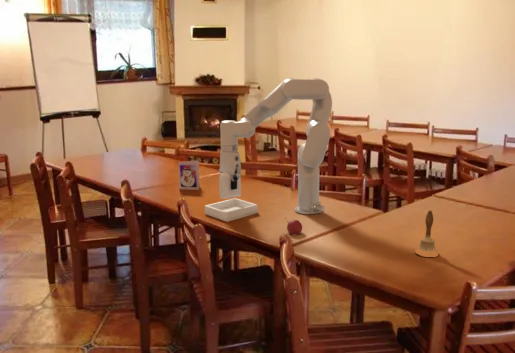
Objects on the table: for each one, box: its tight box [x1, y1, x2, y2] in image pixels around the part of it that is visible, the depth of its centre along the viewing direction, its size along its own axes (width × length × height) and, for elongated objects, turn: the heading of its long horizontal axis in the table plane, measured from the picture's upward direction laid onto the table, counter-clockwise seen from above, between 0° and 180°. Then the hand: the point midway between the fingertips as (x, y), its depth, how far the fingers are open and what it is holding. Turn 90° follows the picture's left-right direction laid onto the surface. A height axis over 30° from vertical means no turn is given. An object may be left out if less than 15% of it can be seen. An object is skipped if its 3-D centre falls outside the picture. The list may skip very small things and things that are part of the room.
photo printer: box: [218, 172, 242, 200], centre depth 230 cm, size 10×4×12 cm, turn 124°
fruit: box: [285, 218, 303, 235], centre depth 206 cm, size 6×6×8 cm
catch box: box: [204, 197, 259, 222], centre depth 232 cm, size 16×18×4 cm
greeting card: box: [177, 160, 201, 191], centre depth 278 cm, size 11×7×15 cm, turn 76°
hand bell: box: [417, 210, 437, 252], centre depth 180 cm, size 8×8×16 cm
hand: (230, 187), depth 230 cm, fingers closed on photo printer, 4 cm apart
